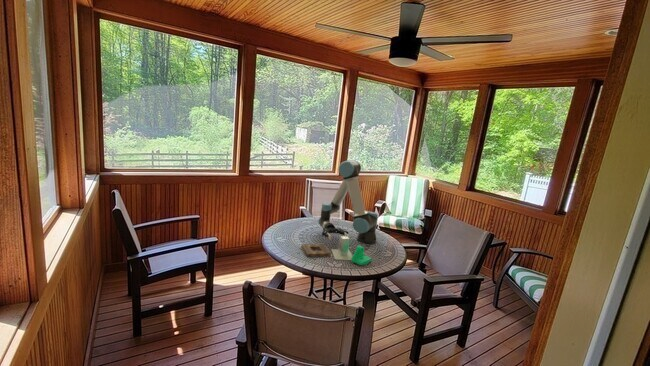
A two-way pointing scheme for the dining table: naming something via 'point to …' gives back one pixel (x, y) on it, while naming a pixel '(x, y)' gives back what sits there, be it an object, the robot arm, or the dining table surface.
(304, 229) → the dining table surface
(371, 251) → the dining table surface
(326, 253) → the walnut socket
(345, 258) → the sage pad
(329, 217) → the robot arm
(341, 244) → the aluminium post
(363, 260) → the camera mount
